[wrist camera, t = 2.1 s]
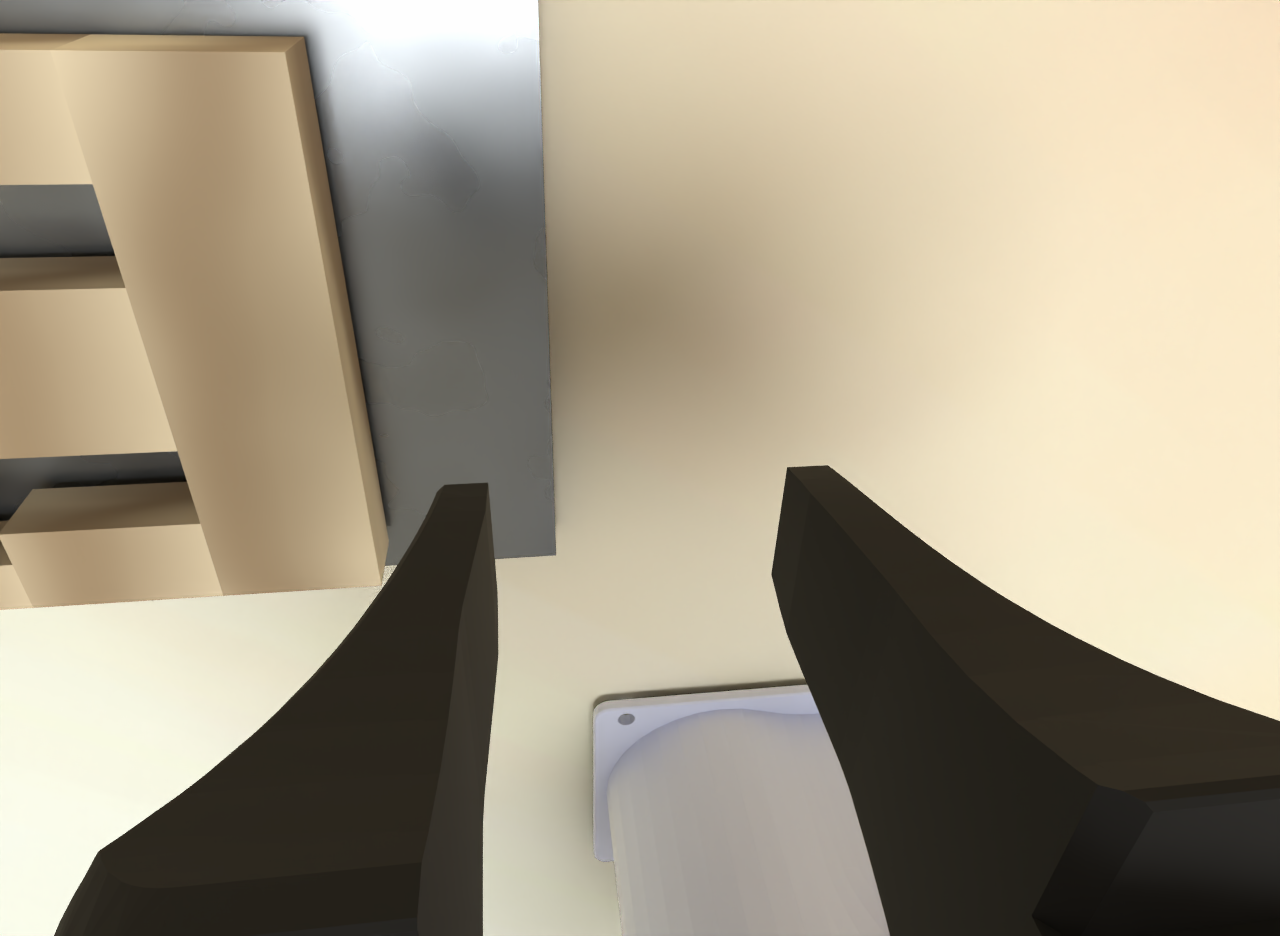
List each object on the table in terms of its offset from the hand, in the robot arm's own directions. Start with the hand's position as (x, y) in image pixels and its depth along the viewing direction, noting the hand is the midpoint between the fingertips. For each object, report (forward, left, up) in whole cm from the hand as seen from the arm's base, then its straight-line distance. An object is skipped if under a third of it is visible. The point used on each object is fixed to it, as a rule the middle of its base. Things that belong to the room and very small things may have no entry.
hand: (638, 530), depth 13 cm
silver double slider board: (+11, 0, -8) cm, 14 cm away
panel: (+11, 0, -7) cm, 13 cm away
